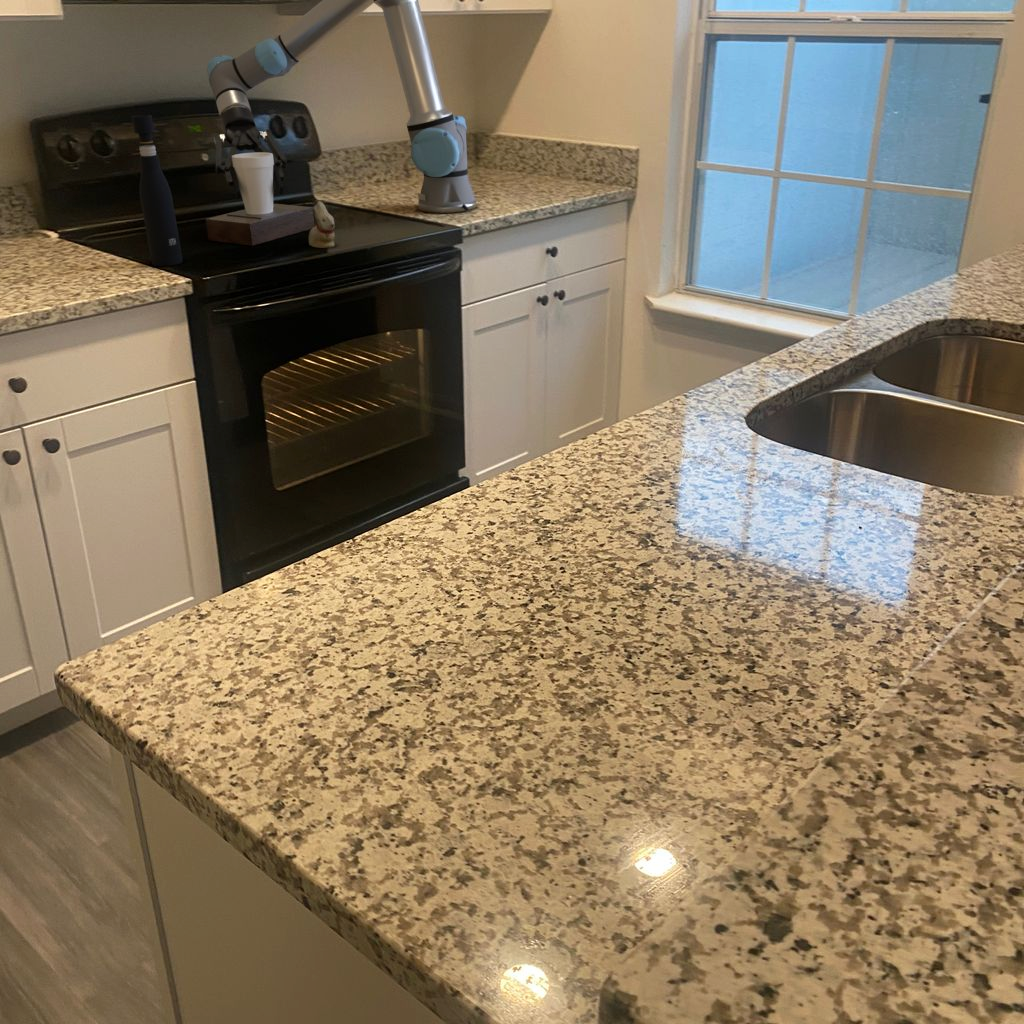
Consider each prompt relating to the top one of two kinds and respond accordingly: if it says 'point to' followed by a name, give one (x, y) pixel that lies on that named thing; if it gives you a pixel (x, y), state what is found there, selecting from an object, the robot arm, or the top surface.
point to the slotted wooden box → (260, 225)
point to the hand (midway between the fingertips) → (260, 193)
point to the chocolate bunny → (322, 228)
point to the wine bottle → (156, 200)
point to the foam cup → (255, 181)
